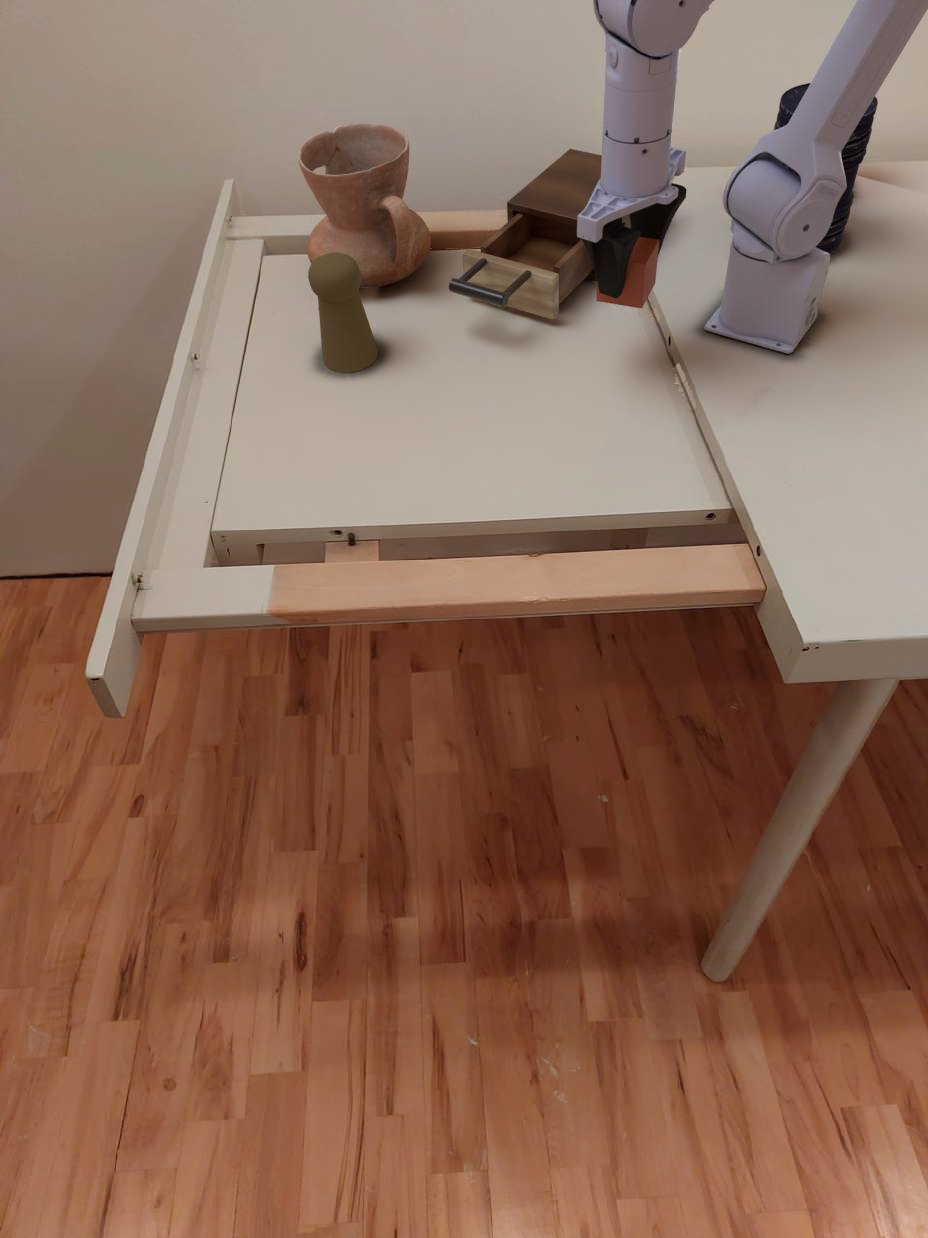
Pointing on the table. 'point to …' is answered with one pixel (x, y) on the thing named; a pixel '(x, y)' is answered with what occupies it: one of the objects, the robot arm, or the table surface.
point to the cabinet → (561, 190)
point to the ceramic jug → (365, 201)
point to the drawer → (526, 266)
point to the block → (637, 275)
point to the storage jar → (849, 154)
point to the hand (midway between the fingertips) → (626, 279)
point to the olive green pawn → (342, 314)
